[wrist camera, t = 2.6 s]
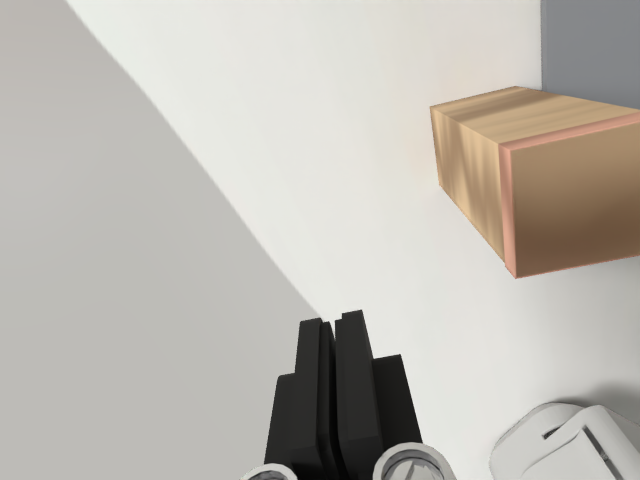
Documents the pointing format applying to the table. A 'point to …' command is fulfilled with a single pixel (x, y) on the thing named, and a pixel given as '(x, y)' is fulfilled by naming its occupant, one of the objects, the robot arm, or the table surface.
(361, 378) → the robot arm
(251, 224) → the table surface
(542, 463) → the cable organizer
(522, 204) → the oak block
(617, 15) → the rubber mat
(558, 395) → the table surface
